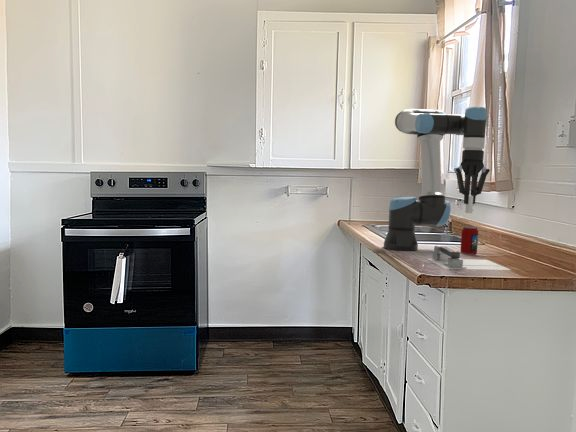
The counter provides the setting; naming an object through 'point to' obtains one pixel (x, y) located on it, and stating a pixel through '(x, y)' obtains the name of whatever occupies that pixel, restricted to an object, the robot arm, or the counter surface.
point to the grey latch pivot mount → (455, 263)
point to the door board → (473, 264)
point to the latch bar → (450, 252)
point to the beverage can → (469, 240)
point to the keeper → (439, 254)
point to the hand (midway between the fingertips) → (468, 212)
